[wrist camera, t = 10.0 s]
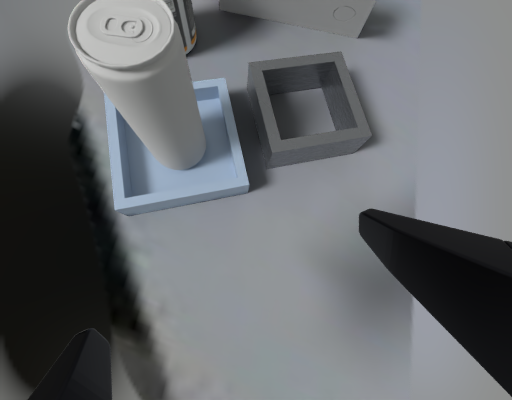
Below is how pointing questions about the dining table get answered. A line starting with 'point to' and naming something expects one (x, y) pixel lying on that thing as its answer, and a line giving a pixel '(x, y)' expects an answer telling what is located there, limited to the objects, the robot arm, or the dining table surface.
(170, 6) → the pill bottle
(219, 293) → the dining table surface
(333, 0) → the white black arched block
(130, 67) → the beverage can
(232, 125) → the tray
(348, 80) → the short square tube
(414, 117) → the dining table surface
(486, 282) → the robot arm
